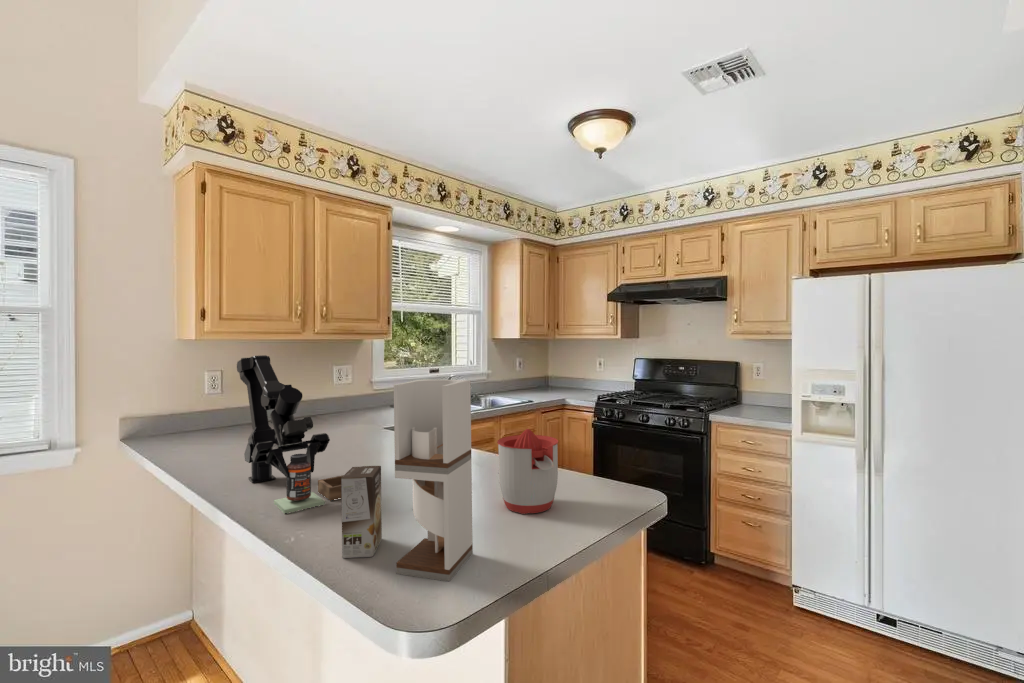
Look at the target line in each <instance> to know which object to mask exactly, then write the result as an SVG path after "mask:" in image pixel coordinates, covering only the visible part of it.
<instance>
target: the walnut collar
mask: <svg viewBox="0 0 1024 683" xmlns="http://www.w3.org/2000/svg"><path fill="white" fill-rule="evenodd" d="M344 475H345V474H343V475H338V476H333V477H332V476H331V477H327V478H323V479H317V493H318V492H319V493H320V495H321V494H322V495H323V496H322V495H321V496H322V497H324V496H325V497H326V498H328V499H329V500H330V501H329V500H328V499H327V500H328V501H329V502H332V501H331V500H334V499H338V498H342V488H341V478H342V477H343V476H344ZM319 493H318V494H319ZM325 497H324V498H325ZM326 498H325V499H326ZM334 501H335V500H334Z"/></svg>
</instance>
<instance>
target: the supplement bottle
mask: <svg viewBox="0 0 1024 683" xmlns="http://www.w3.org/2000/svg"><path fill="white" fill-rule="evenodd" d="M286 465H287V468H288V471H289V477H286V476H285V478H286V480H285V481H286V497H287V499H288V500H291V501H300V500H304V499H307V498H309V497H310V496H311V492H312V473H311V464H310V463H309V462H307V454H306V453H295V454H292V455H290V462H289V463H288V464H286Z"/></svg>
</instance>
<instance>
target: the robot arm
mask: <svg viewBox="0 0 1024 683" xmlns="http://www.w3.org/2000/svg"><path fill="white" fill-rule="evenodd" d="M236 370H237V373H238V374H239V379H240V380H241V381H242V382H243V383H244V385H246V389H247V395H248V396H247V397H248V404H249V410H250V412H249V413H250V418H251V419H250V420H251V426H252V430H251V432H250V435H249V437H248V439H247V441H248V442H247V444H246V448H245V451H244V453H243V454H244V456H243V457H244V461H245V462H246V463H248V464H250V463H251V476H248V478H247V480H249V481H250V482H251V483H252V484H255V483H262V482H266V481H272V480H276V476H275V475H273V467H274V468H276V469H277V470H278V471H279V472H280V473H281V474H283V476H285V478H286V477H289V471H288V468H287V465H288V464H287V463H286V460H285V458H284V453H286V452H287V453H288V452H293V451H300V450H305V454H307V462H309V463H310V464H311V474H312V473H314V472H315V460H316V459H315V458H316V455H317V454H318V453H323V452H324V451H326V449H327V447H328V446H329V445H328V444H329V443H330V441H331V439H330V437H329V434H328V433H325V432H324V433H316V434H312V436H311V438H310V440H303V439H305V436H306V434H305V433H306V432H308V431H309V430H312V429H313V428H314V422H313V419H312V417H311V416H307V417H304V418H302V419H296V417H295V414H297V412H298V409H299V407H300V405H301V402H302V401H303V392H302V391H300V389H298V388H295V387H294V386H292V384H283V383H282V382H280V381H279V379H278V377H277V374H276V372H275V370H274V368H273V367H272V364H271V357H270V356H269V355H266V354H265V355H260V354H259V355H253V356H250V357H241V358H240V360H237V362H236ZM271 410H272V411H271ZM268 411H271V413H270V415H269V416H270V423H271V424H272V426H273V428H272V427H271V426H270V424H269V416H268Z"/></svg>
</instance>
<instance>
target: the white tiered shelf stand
mask: <svg viewBox="0 0 1024 683" xmlns="http://www.w3.org/2000/svg"><path fill="white" fill-rule="evenodd" d="M471 394H472V392H471V380H470V379H434V378H433V379H427V378H426V379H416V380H412V381H407V382H401V383H396V384H393V425H394V426H393V427H394V430H393V431H394V434H393V435H394V438H393V439H394V478H395V479H402V480H403V479H405V480H412V514H413V517H414V518H415V521H416V522H417V523H418V524H419V526H421V527H423V528H424V529H425V530H426V531H427V538H424V537H423V539H422V540H421V541H420V542H418V543H417V544H416V545H415V546H413V547H412V548H411V549H410V550H409V551H408V552H407V553H406V554H405V555H403V557H401V558H400V559H399V560H398V561H397V562H396V564H395V565H396V571H395V572H396V575H403V576H408V577H409V576H410V577H417V578H422V579H423V578H424V579H431V580H437V581H443V582H444V581H445V582H450V581H451V580H452V579H453V578H454V577H455V575H456V574H457V573H458V572H459V571H460V570H461V569H462V567H463V566H464V565H465V564H466V563H467V561H468V560H469V559H470V558H471V556H472V555H473V554H474V552H473V551H474V550H473V549H474V548H473V544H474V543H473V541H474V540H473V539H474V538H473V487H472V486H473V483H472V480H473V479H472V478H473V477H472V475H473V474H472V472H473V470H472V469H473V468H472V410H471V408H472V406H471V405H472V404H471V403H472V402H471V401H472V399H471Z"/></svg>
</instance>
